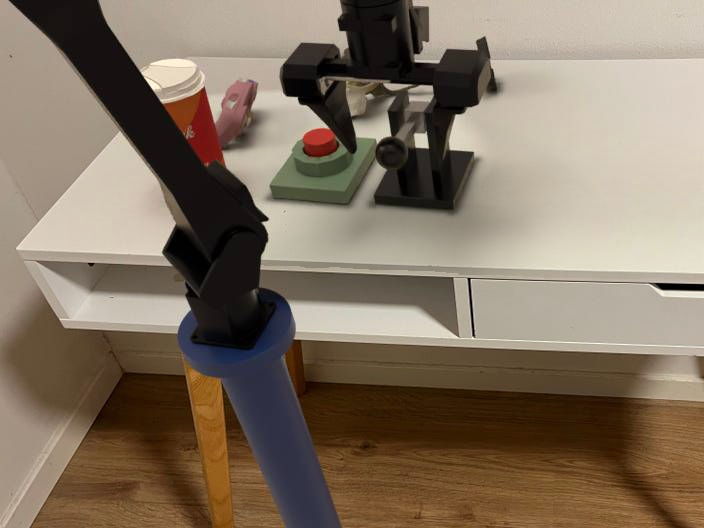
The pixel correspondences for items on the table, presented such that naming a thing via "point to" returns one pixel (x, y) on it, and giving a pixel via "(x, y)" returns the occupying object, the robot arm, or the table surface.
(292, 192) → the control block
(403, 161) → the lever
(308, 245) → the table surface
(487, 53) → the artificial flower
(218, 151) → the paper cup
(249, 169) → the table surface
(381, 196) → the bracket
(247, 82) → the pink toy car
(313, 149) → the button
